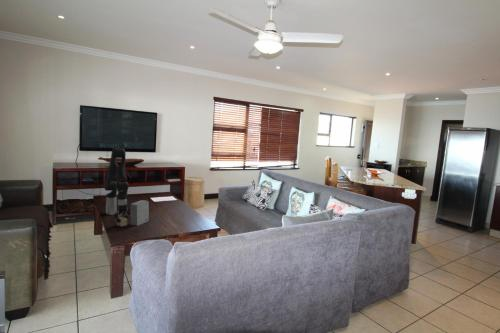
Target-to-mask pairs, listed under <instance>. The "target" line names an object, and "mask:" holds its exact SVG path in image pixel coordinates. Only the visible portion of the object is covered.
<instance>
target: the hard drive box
mask: <svg viewBox="0 0 500 333" xmlns="http://www.w3.org/2000/svg"><path fill="white" fill-rule="evenodd" d="M149 205H150V204H149V201H148V200H146V199H145V200H144V199H143V200H142V199H141V200H139V201H135V202H133V203H130V225H131V226H132V225H133V226H135V227H138V226H140V225H143V224H145V223H147V222H149V220H150V219H149V217H150V216H149V214H150V213H149V212H150V211H149V208H150V207H149Z"/></svg>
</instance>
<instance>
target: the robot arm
mask: <svg viewBox="0 0 500 333" xmlns="http://www.w3.org/2000/svg"><path fill="white" fill-rule="evenodd" d="M110 155H111V156H110V162H109V165H108V171H107V175H106V180H105V182H104V186H103V187H104V190H105V191H108V193H106V197H105V198H106V199H105V201H106V203H105V214H106V215H108V216H109V215H111V216H113V215H114V219H116V223H117V222H118V223H119V222H120V219H119V218H122V216H125V217H124V218H127V221H128V220H129V215H130V216H131V208H128V196H127V194H128V191H129V187H130V185H129V182H128V181H124V180H126V178H127V177H126V175H127V174H126V155H127V154H126V150H125V148H123V147H113V148H112V149H111V154H110ZM116 159H121V161H120V163H119V164H118V162H117V161H116ZM116 177H117V179H116V180H114V179H115V178H116ZM109 191H110V192H109ZM118 191H120V192H118ZM117 193H118V194H117Z"/></svg>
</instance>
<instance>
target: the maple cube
mask: <svg viewBox="0 0 500 333" xmlns="http://www.w3.org/2000/svg"><path fill="white" fill-rule="evenodd" d="M119 219H120V222H119V223H118V222H117V221H116V226H118V227H122V226H123V227H125V226H128V220H127V218H125V217H123V216H121V217H120V218H119Z"/></svg>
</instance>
